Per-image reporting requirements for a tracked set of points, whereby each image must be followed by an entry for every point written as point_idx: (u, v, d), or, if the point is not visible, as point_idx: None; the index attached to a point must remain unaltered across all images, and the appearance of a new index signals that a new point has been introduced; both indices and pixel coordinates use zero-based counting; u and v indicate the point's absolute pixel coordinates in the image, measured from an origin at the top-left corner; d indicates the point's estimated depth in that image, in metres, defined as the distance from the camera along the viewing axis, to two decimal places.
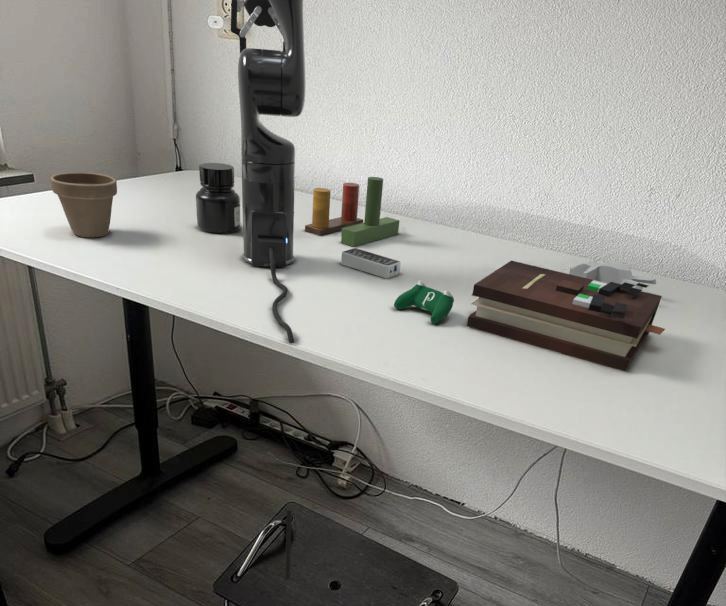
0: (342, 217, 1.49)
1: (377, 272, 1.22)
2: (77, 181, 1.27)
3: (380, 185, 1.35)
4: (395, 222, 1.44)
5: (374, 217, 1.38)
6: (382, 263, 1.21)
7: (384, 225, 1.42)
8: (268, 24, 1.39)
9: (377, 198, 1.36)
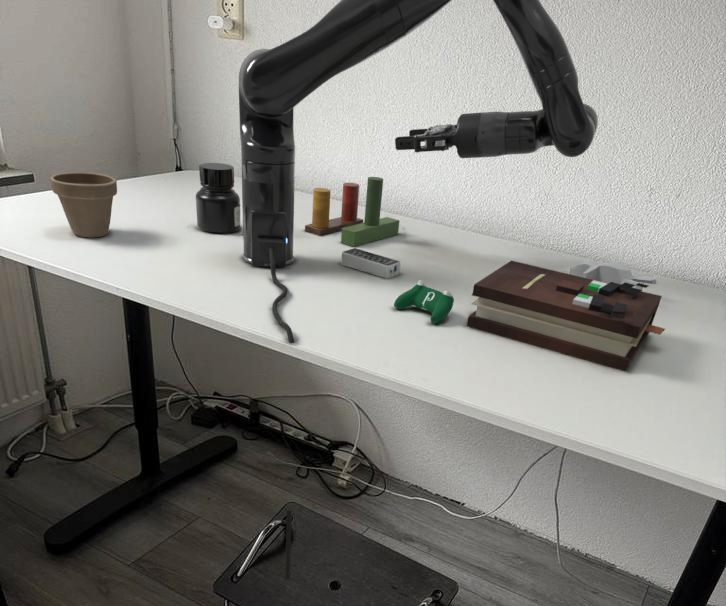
0: (342, 217, 1.49)
1: (377, 272, 1.22)
2: (77, 181, 1.27)
3: (380, 185, 1.35)
4: (395, 222, 1.44)
5: (374, 217, 1.38)
6: (382, 263, 1.21)
7: (384, 225, 1.42)
8: None
9: (377, 198, 1.36)
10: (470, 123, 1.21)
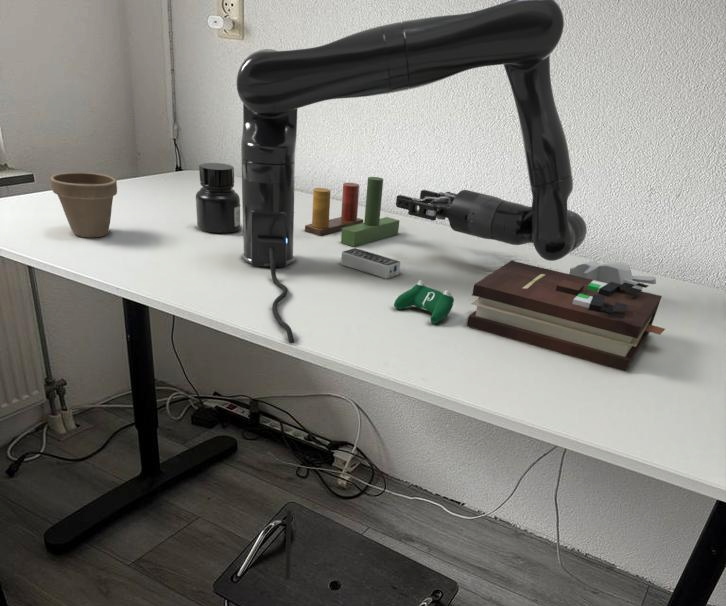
0: (342, 217, 1.49)
1: (377, 272, 1.22)
2: (77, 181, 1.27)
3: (380, 185, 1.35)
4: (395, 222, 1.44)
5: (374, 217, 1.38)
6: (382, 263, 1.21)
7: (384, 225, 1.42)
8: None
9: (377, 198, 1.36)
10: (465, 201, 1.23)
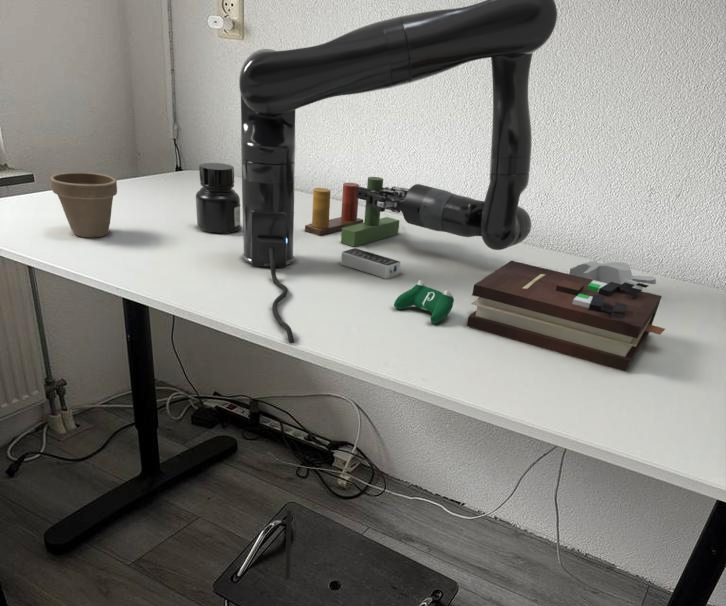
0: (342, 217, 1.49)
1: (377, 272, 1.22)
2: (77, 181, 1.27)
3: (380, 185, 1.35)
4: (395, 222, 1.44)
5: (374, 217, 1.38)
6: (382, 263, 1.21)
7: (384, 225, 1.42)
8: None
9: None
10: (417, 194, 1.28)
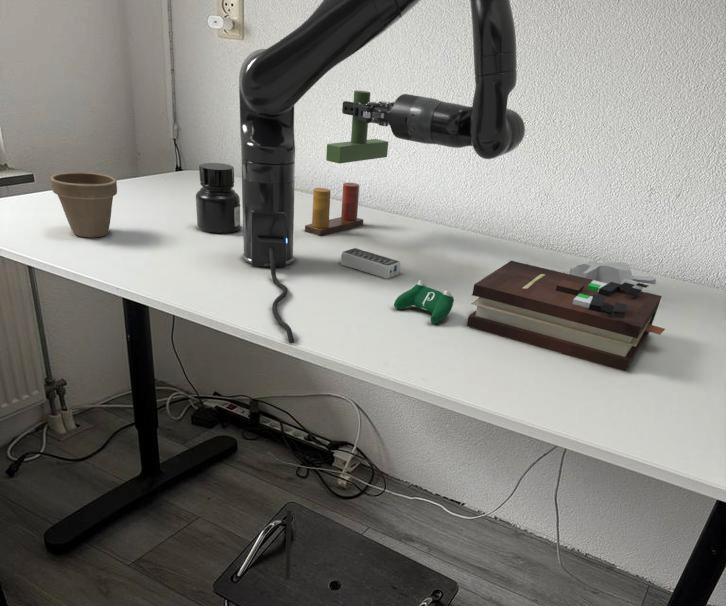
0: (342, 217, 1.49)
1: (377, 272, 1.22)
2: (77, 181, 1.27)
3: (367, 98, 1.29)
4: (384, 143, 1.38)
5: (361, 134, 1.32)
6: (382, 263, 1.21)
7: (372, 144, 1.35)
8: None
9: None
10: (405, 103, 1.22)
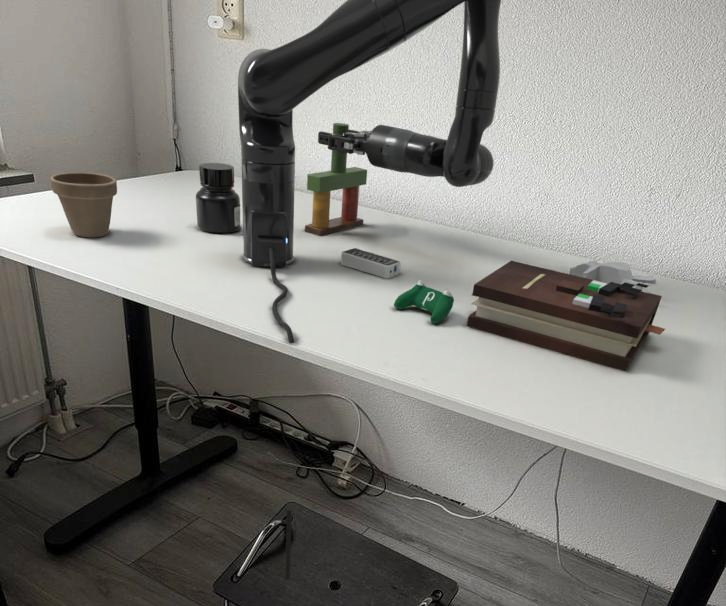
0: (342, 217, 1.49)
1: (377, 272, 1.22)
2: (77, 181, 1.27)
3: (345, 130, 1.35)
4: (363, 171, 1.44)
5: (341, 164, 1.38)
6: (382, 263, 1.21)
7: (351, 173, 1.41)
8: None
9: None
10: (380, 134, 1.28)
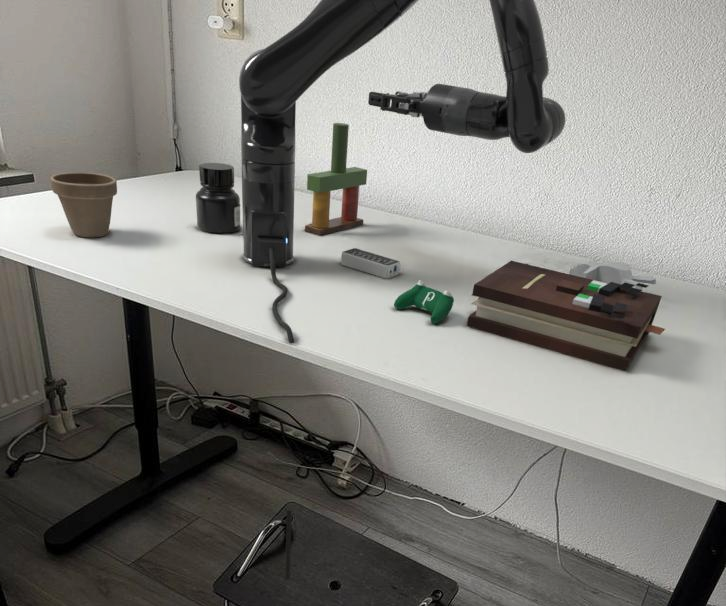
0: (342, 217, 1.49)
1: (377, 272, 1.22)
2: (77, 181, 1.27)
3: (345, 130, 1.35)
4: (363, 171, 1.44)
5: (341, 164, 1.38)
6: (382, 263, 1.21)
7: (351, 173, 1.41)
8: None
9: (343, 145, 1.36)
10: (439, 93, 1.17)
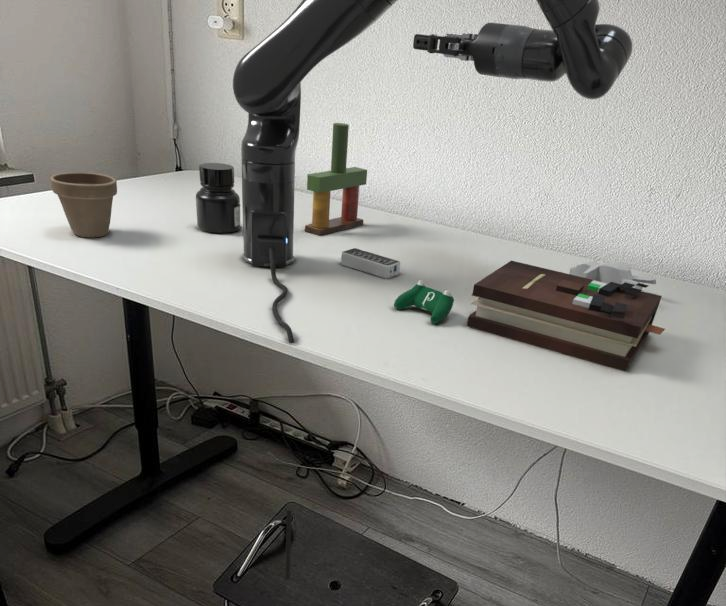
0: (342, 217, 1.49)
1: (377, 272, 1.22)
2: (77, 181, 1.27)
3: (345, 130, 1.35)
4: (363, 171, 1.44)
5: (341, 164, 1.38)
6: (382, 263, 1.21)
7: (351, 173, 1.41)
8: None
9: (343, 145, 1.36)
10: (492, 32, 1.09)
